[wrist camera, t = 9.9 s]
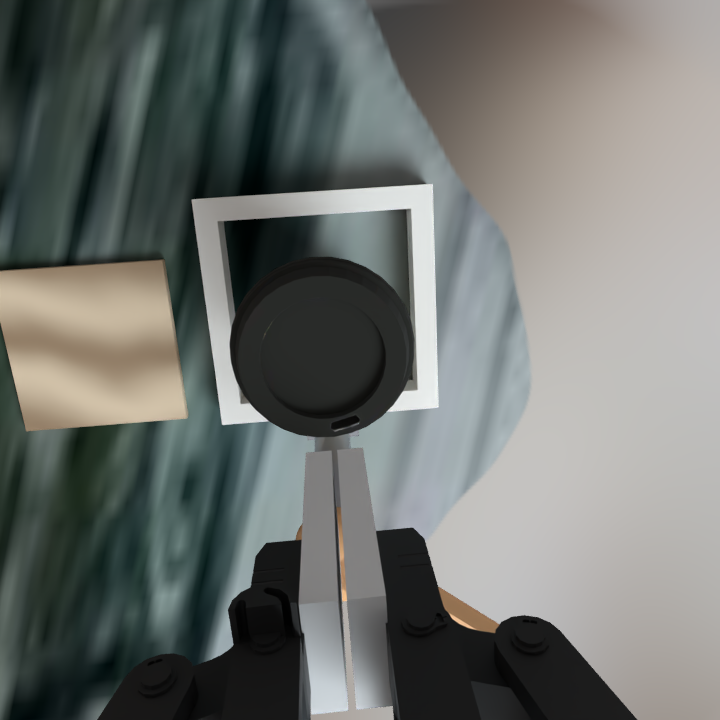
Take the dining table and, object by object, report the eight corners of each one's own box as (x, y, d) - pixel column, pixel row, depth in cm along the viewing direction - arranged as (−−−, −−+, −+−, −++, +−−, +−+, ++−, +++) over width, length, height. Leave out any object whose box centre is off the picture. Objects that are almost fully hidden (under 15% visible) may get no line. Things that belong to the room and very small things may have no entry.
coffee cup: (366, 217, 43) (388, 234, 29) (404, 343, 46) (442, 417, 31) (235, 260, 43) (193, 297, 29) (281, 383, 46) (263, 473, 32)
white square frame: (199, 198, 42) (116, 208, 25) (426, 184, 42) (494, 183, 26) (231, 442, 47) (181, 584, 30) (433, 425, 48) (493, 556, 31)
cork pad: (-7, 270, 42) (-12, 272, 42) (164, 259, 43) (162, 260, 42) (30, 427, 46) (26, 431, 45) (188, 415, 46) (186, 418, 46)
